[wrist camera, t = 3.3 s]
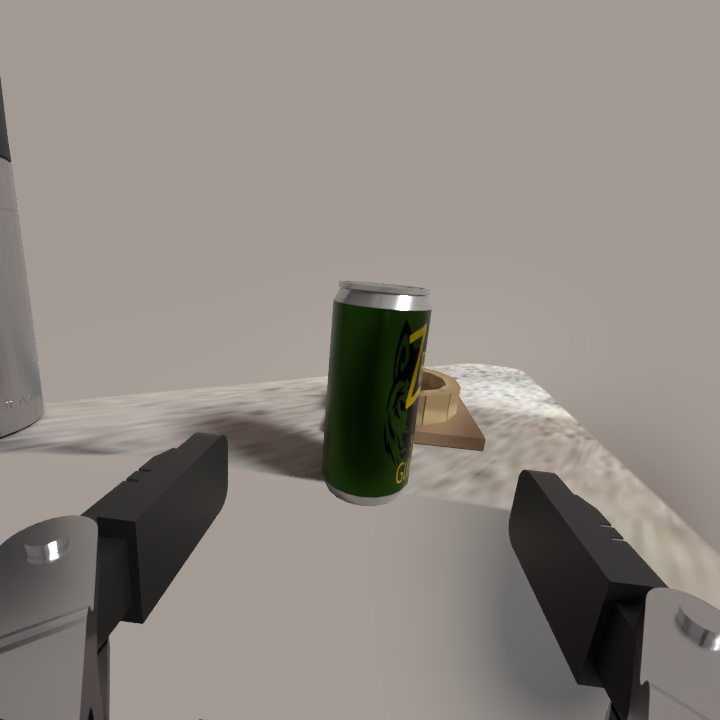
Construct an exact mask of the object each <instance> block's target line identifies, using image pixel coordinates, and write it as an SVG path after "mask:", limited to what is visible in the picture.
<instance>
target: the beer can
mask: <svg viewBox="0 0 720 720" xmlns="http://www.w3.org/2000/svg"><path fill="white" fill-rule="evenodd" d="M339 286H340V289H339V291H338V292H337V294H336V296H335V298H334V303H333V317H332V330H331V344H330V358H329V373H328V386H327V401H326V415H325V429H324V443H323V457H322V475H323V478H324V480H325V483H326V485H327V487H328V488H329V490H330V491H331V492H332V493H333V494H334V495H335V496H336V497H338V498H340V499H342V500H344V501H346V502H348V503H352V504H357V505H361V506H376V505H381V504H386V503H388V502H390V501H392V500H394V499H396V498H397V497H398V495H399V494H400V493H401V492H402V490H403V489H404V487H405V486H406V485H407V482H408V477H409V470H410V463H411V455H412V448H413V441H414V434H415V426H416V419H417V412H418V404H419V397H420V390H421V383H422V375H423V368H424V361H425V354H426V346H427V339H428V332H429V324H430V317H431V310H432V308H431V305H430V302H429V300H428V296H427V295H429V293H430V289H426V288H419V287H410V286H401V285H391V284H381V283H369V282H356V281H339Z"/></svg>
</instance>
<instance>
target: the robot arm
mask: <svg viewBox="0 0 720 720" xmlns="http://www.w3.org/2000/svg"><path fill="white" fill-rule="evenodd" d="M17 212H18V210H17V202H16V194H15V187H14V179H13V172H12V164H11V157H10V150H9V144H8V136H7V128H6V120H5V112H4V104H3V95H2V88H1V79H0V437H2V436H5V435H7V434H10V433H13V432H15V431H18V430H20V429H22V428H24V427H26V426H28V425H30V424H32V423H34V422H35V421H36V420H38V419H39V418H40V417H41V416H42V415H43V413H44V404H43V397H42V390H41V382H40V374H39V368H38V357H37V349H36V342H35V334H34V327H33V320H32V312H31V306H30V297H29V290H28V283H27V275H26V268H25V260H24V252H23V245H22V237H21V230H20V223H19V215H18V213H17ZM227 489H228V442H227V438H226V437H225V436H224V435H216V434H207V433H195V434H194V435H192V436H191V437H190V438H189V439H188V440H186V441H185V442H184V443H183V444H182V445H181V446H179V447H178V448H177V449H176V448H172V449H170V450H168V451H166V452H163V453H161V454H159V455H157V456H155V457H153V458H152V459H150V460H149V461H148V462H147V463H145V464H144V465H143V466H142V467H140V468H139V471H135V472H134V473H133V474H132V475H130V476H129V477H128V478H127V480H126V481H123V482H122V483H120V484H119V485H118V486H117V487H115V488H114V489H113V490H112V491H110V492H109V493H108V494H107V495H105V496H104V497H103V498H102V499H100V500H99V501H98V502H97V503H96V504H94V505H93V506H92V507H90V508H89V509H88V510H87V511H85V512H84V513H83V514H81V515H80V516H63V517H58V518H53V519H49V520H45V521H42V522H40V523H37V524H34V525H32V526H30V527H27V528H26V529H24V530H22V531H20V532H18V533H16V534H15V535H13V536H12V537H10V538H9V539H7V540H6V541H5V542H4V543H3V544H2V545H0V720H109V697H110V642H109V635H110V633H111V632H112V631H113V630H114V628H115V627H116V626H117V624H118V623H119V622H120V621H126V622H133V623H140V624H143V623H144V622H145V620H146V619H147V617H148V616H149V614H150V613H151V611H152V610H153V608H154V607H155V606H156V604H157V603H158V601H159V600H160V598H161V597H162V595H163V594H164V592H165V591H166V589H167V588H168V587H169V585H170V584H171V582H172V581H173V579H174V577H175V576H176V574H177V573H178V572H179V570H180V569H181V568H182V566H183V564H184V563H185V562H186V560H187V559H188V557H189V556H190V554H191V553H192V551H193V550H194V549H195V547H196V546H197V544H198V543H199V541H200V540H201V538H202V537H203V535H204V534H205V533H206V531H207V530H208V528H209V527H210V525H211V524H212V522H213V521H214V519H215V518H216V516H217V515H218V514H219V512H220V511H221V509H222V507H223V505H224V502H225V499H226V495H227ZM509 536H510V541H511V545H512V547H513V549H514V551H515V554H516V556H517V558H518V560H519V562H520V564H521V566H522V568H523V570H524V572H525V575H526V577H527V579H528V581H529V583H530V585H531V587H532V589H533V591H534V594H535V595H536V598H537V600H538V602H539V604H540V606H541V608H542V610H543V613H544V614H545V617H546V619H547V621H548V623H549V625H550V627H551V629H552V632H553V634H554V636H555V638H556V640H557V642H558V644H559V646H560V648H561V650H562V652H563V655H564V657H565V659H566V661H567V663H568V665H569V667H570V669H571V671H572V674H573V676H574V678H575V680H576V682H577V684H579V685H586V686H594V687H601V688H605V690H606V692H607V694H608V696H609V698H610V702H609V705H608V708H607V711H606V714H605V720H720V610H718V609H717V608H715V607H714V606H712V605H710V604H709V603H707V602H705V601H703V600H701V599H699V598H697V597H695V596H692V595H690V594H688V593H685V592H682V591H679V590H675V589H671V588H668V587H667V585H666V584H665V583H664V582H663V581H662V580H661V579H660V578H659V577H658V576H657V574H656V573H655V572H654V571H653V570H652V569H651V568H650V567H649V566H648V565H647V563H646V562H645V561H644V560H643V559H642V558H641V557H640V556H639V555H638V554H637V552H636V551H635V550H634V549H633V548H632V547H631V546H630V545H629V544H628V543H627V542H625V541H624V540H623V537H622V536H621V535H620V534H619V533H618V532H617V530H616V529H615V528H612V527H611V524H610V523H609V522H608V521H607V520H606V518H605V517H604V516H603V515H602V514H601V513H600V512H599V511H598V510H597V509H596V508H595V507H593V506H592V505H590V504H589V503H588V502H586V501H585V500H583V499H582V498H580V497H579V496H578V495H574V494H573V493H572V492H571V491H570V490H569V488H568V487H567V486H566V485H565V484H564V483H563V481H562V480H561V479H560V478H559V477H558V476H557V475H556V474H555V473H549V472H541V471H532V470H523V471H522V472H521V473H520V475H519V479H518V483H517V488H516V492H515V497H514V501H513V506H512V510H511V515H510V519H509Z"/></svg>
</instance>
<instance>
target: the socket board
mask: <svg viewBox="0 0 720 720" xmlns="http://www.w3.org/2000/svg"><path fill="white" fill-rule="evenodd" d="M459 393H460V386H459V384H458V383H457V381H456V380H455V379H454V378H452V377H450V376H447V375H445V374H443V373H441V372H438V371H434V370H430V369H426V368H423V375H422V383H421V390H420V397H419V404H418V412H417V419H416V426H415V434H414V441H413V443H419V444H428V445H437V446H446V447H455V448H464V449H473V450H482V451H483V450H484V444H485V437H484V436H483V434H482V432H481V431H480V429H479V428H478V426H477V424H476V423H475V421H474V419H473V418H472V416H471V415H470V413H469V411H468V410H467V408H466V407H465V405H464V403H463V402H462V400H461V399H460V397H459Z"/></svg>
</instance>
